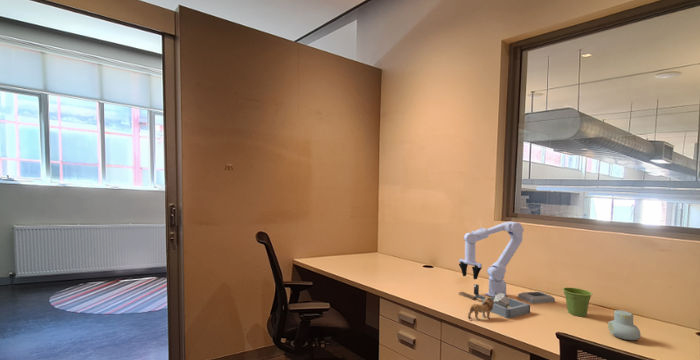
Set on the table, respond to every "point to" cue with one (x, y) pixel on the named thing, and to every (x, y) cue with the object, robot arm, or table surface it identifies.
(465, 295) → the rail
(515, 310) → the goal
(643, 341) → the table surface
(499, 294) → the grey rock
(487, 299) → the lion figurine
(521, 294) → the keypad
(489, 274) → the robot arm
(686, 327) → the table surface
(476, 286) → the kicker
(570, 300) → the plant pot
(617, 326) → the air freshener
